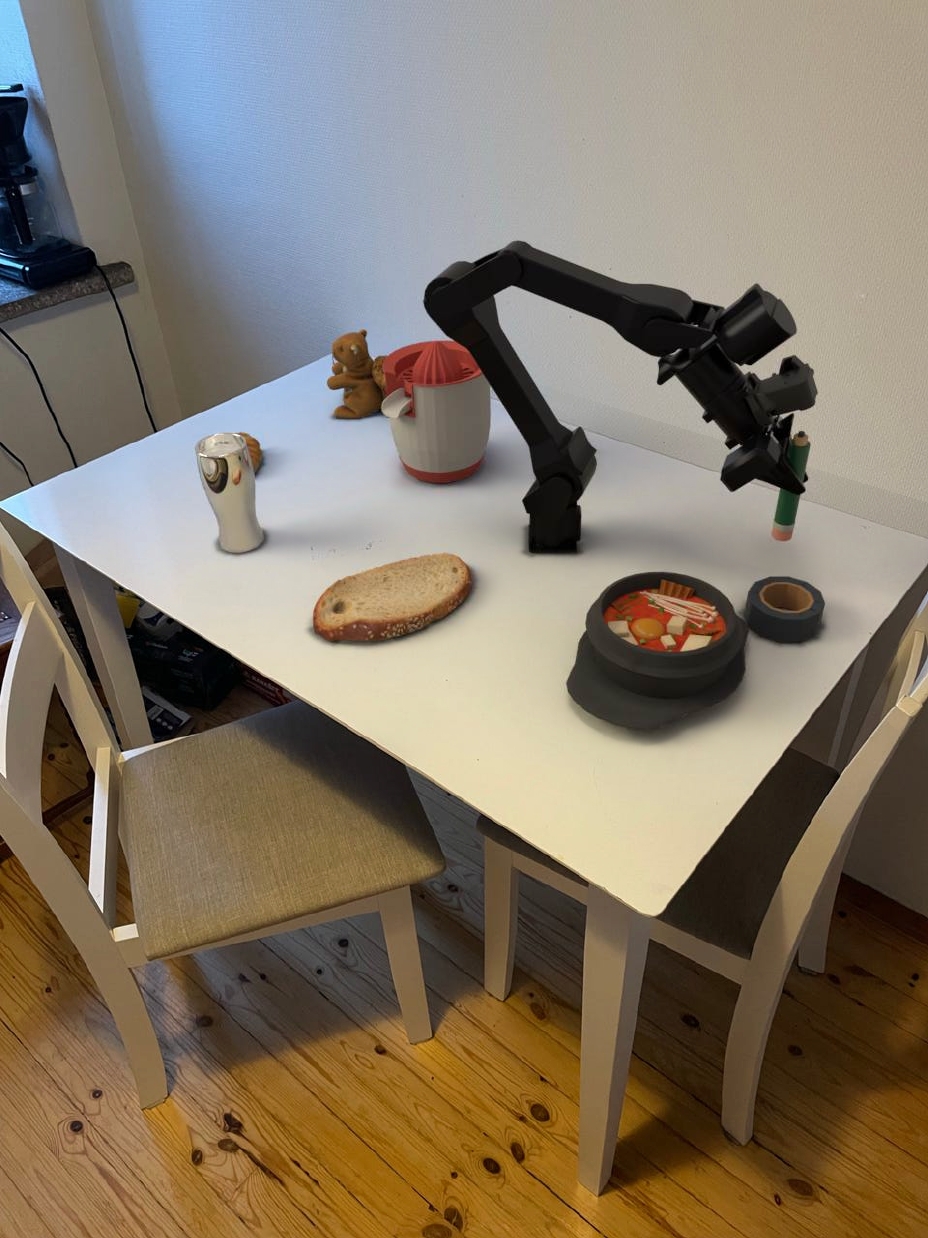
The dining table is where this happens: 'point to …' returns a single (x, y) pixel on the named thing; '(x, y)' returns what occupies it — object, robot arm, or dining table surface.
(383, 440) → the dining table surface
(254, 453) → the pastry
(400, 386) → the citrus juicer
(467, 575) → the slice of bread
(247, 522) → the beer glass
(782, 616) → the tape roll
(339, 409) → the stuffed squirrel
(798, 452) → the pencil
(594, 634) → the casserole
